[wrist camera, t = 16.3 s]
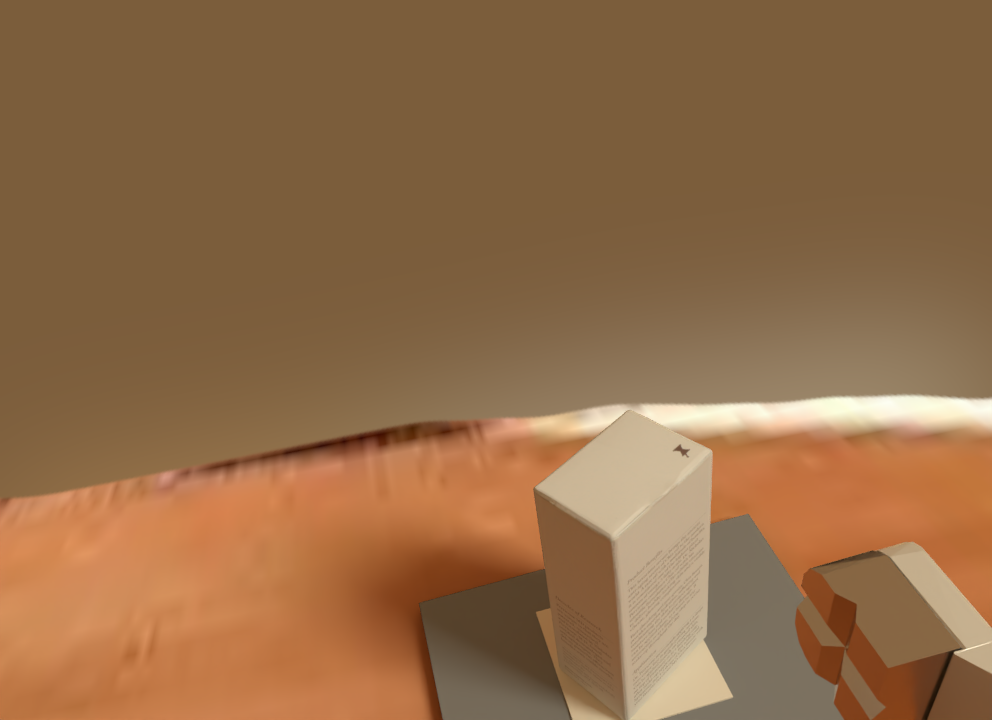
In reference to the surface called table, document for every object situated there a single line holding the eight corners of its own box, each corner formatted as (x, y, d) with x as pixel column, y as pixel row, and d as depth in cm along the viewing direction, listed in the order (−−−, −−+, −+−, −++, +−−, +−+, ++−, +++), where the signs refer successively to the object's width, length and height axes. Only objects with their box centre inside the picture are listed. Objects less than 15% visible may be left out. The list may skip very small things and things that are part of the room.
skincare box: (636, 589, 43) (630, 403, 35) (708, 637, 40) (718, 448, 33) (552, 670, 39) (528, 485, 32) (625, 729, 37) (616, 541, 30)
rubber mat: (469, 847, 34) (467, 839, 34) (420, 610, 44) (418, 601, 43) (879, 721, 36) (881, 712, 36) (747, 521, 46) (748, 512, 46)
